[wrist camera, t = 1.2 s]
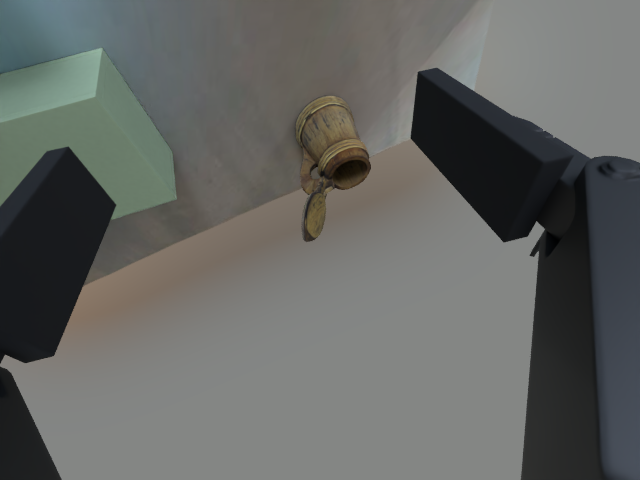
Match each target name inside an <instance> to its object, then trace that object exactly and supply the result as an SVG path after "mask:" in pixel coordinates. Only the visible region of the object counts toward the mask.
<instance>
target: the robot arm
mask: <svg viewBox="0 0 640 480" xmlns="http://www.w3.org/2000/svg"><path fill="white" fill-rule="evenodd" d="M411 139H412V140H413V141H414V142H415V144H416V145H417V146H418V147H419V148H420V149H421V150H422V152H423V153H424V154H425V155H426V156H427V157H428V158H429V159H430V160H431V162H432V163H433V164H434V165H435V166H436V167H437V168H438V169H439V171H440V172H441V173H442V174H443V175H444V176H445V177H446V178H447V180H448V181H449V182H450V183H451V184H452V185H453V186H454V187H455V188H456V190H457V191H458V192H459V193H460V194H461V195H462V196H463V197H464V198H465V200H466V201H467V202H468V203H469V204H470V205H471V206H472V207H473V208H474V210H475V211H476V212H477V213H478V214H479V215H480V216H481V218H482V219H483V220H484V221H485V222H486V223H487V224H488V225H489V226H490V227H491V229H492V230H493V231H494V232H495V233H496V234H497V235H498V237H500V239H501V240H502V241H503V242H507V241H511V240H515V239H519V238H523V237H527V236H528V235H529V233H530V231H531V230H532V228H533V226H534V225H535V223H536V221H537V222H538V223H539V224H540V225H541V226H543V227H544V228H545V230H544V232H543V234H542V235H541V237H540V238H539V240H538V242H537V243H536V245H535V247H534V248H533V250H532V252H531V254H530V256H533V257H534V256H535V254H536V253H537V252H538V251H539V260H538V272H537V284H536V297H535V310H534V322H533V335H532V348H531V361H530V374H529V386H528V399H527V411H526V424H525V436H524V449H523V462H522V475H521V480H640V163H639V162H636V161H633V160H631V159H626V158H621V157H616V156H615V157H614V156H601V157H594V158H592V159H590V158H589V157H587V156H585V155H584V154H582V153H580V152H579V151H577V150H576V149H574V148H572V147H571V146H569V145H568V144H566V143H564V142H562V141H561V140H559V139H558V138H556V137H555V138H553V135H551V134H550V133H548V132H546V131H543V129H542V128H540V127H538V126H537V125H535V124H533V123H532V122H530V121H527V120H524V119H521V118H518V117H515V116H512V115H510V114H509V113H507V112H506V111H504V110H502V109H501V108H499V107H498V106H496V105H494V104H493V103H491V102H490V101H488V100H487V99H485V98H484V97H482V96H480V95H479V94H477V93H476V92H474V91H473V90H471V89H470V88H468V87H466V86H465V85H463V84H462V83H460V82H459V81H457V80H455V79H454V78H452V77H451V76H449V75H448V74H446V73H444V72H443V71H441V70H440V69H438V68H433V69H429V70H424V71H419V72H418V76H417V85H416V94H415V103H414V112H413V121H412V130H411ZM115 208H116V204H115V202H114V201H113V200H112V199H111V198H110V196H109V195H108V194H107V193H106V191H105V190H104V189H103V188H102V187H101V185H100V184H99V183H98V182H97V180H96V179H95V178H94V177H93V176H92V174H91V173H90V172H89V171H88V169H87V168H86V167H85V166H84V165H83V163H82V162H81V161H80V160H79V158H78V157H77V156H76V155H75V154H74V152H73V151H72V150H71V149H70V147H69V146H68V147H64V148H59V149H54V150H50V151H46V153H45V154H44V155H43V156H42V157H41V159H40V160H39V161H38V162H37V163H36V165H35V166H34V167H33V168H32V169H31V170H30V172H29V173H28V174H27V175H26V176H25V178H24V179H23V180H22V181H21V182H20V184H19V185H18V186H17V187H16V188H15V190H14V191H13V192H12V193H11V194H10V195H9V197H8V198H7V199H6V200H5V201H4V203H3V204H2V205H1V206H0V363H1V361H2V359H3V357H4V355H8V356H10V357H12V358H14V359H17V360H19V361H21V362H24V363H28V362H32V361H35V360H40V359H44V358H48V357H52V356H54V355H55V352H56V350H57V347H58V345H59V342H60V340H61V337H62V335H63V333H64V330H65V328H66V326H67V323H68V321H69V318H70V316H71V314H72V311H73V309H74V306H75V304H76V302H77V299H78V296H79V294H80V292H81V290H82V287H83V285H84V282H85V280H86V277H87V275H88V273H89V270H90V268H91V265H92V263H93V261H94V258H95V256H96V253H97V251H98V249H99V246H100V244H101V241H102V239H103V236H104V234H105V232H106V229H107V227H108V224H109V222H110V220H111V217H112V215H113V212H114V210H115ZM0 480H61V477H60V475H59V473H58V471H57V469H56V467H55V465H54V463H53V461H52V458H51V456H50V454H49V452H48V450H47V448H46V446H45V444H44V442H43V439H42V437H41V435H40V433H39V431H38V429H37V427H36V425H35V423H34V420H33V418H32V416H31V414H30V412H29V410H28V408H27V406H26V404H25V401H24V399H23V397H22V395H21V393H20V391H19V389H18V387H17V385H16V382H15V380H14V378H13V376H12V374H11V373H10V372H9V371H8V370H7V369H5V368H2V367H0Z"/></svg>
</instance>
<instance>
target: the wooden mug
mask: <svg viewBox="0 0 640 480" xmlns="http://www.w3.org/2000/svg"><path fill="white" fill-rule="evenodd" d="M295 133H296V140H297V142H298V143H299V145H300V146H301V147H302V148H303V151H304V158H303V163H302V167H301V172H300V182H301V186H302V188H303V190H304V191H305V192H306V193H307V194H308V195H309V197H308V198H307V201H306V203H305V206H304V210H303V216H302V235H303V240H304V241H306V242H308V241H312V240H315V239H316V238H317V237H318V236H319V235H320V233H321V231H322V229H323V225H324V221H325V214H326V206H325V205H326V204H325V198H326V195H327V193H328V192H330V191H331V190H333V189H334V188H337V189H341V190H345V189H349V188H352V187H354V186H356V185H358V184H360V183H361V182H363V181H364V180H365V178H366V177H367V175H368V174H369V171H370V169H371V165H370V162H369V154H368V151H367V148H366V146H365V145H364V143H363V142H361V140H360V138H359V135H358V133H357V130H356V127H355V125H354V120H353V116H352V113H351V110H350V108H349V106H348V105H347V103H346V102H345V101H344V100H342V99H341V98H339V97H335V96H324V97H320V98H318V99H316V100H314V101H313V102H311V103H310V104H309V105H308V106H306V107H305V109H304V110H303V111H302V112H301V113H300V115H299V117H298V119H297V121H296V127H295ZM316 167H318V174H319V176H320V177H321V178H319V179H312V178H311V176H310V175H311V171H312V170H313V169H314V168H316Z"/></svg>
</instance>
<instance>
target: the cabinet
mask: <svg viewBox="0 0 640 480" xmlns="http://www.w3.org/2000/svg"><path fill="white" fill-rule="evenodd" d="M68 146H69V147H70V149H71V150H72V151H73V152H74V154H75V155H76V156H77V157H78V158H79V160H80V161H81V162H82V163H83V165H84V166H85V167H86V168H87V169H88V171H89V172H90V173H91V174H92V176H93V177H94V178H95V179H96V180H97V182H98V183H99V184H100V185H101V187H102V188H103V189H104V190H105V191H106V193H107V194H108V195H109V196H110V198H111V199H112V200H113V201H114V202H115V204H116V208H115V210H114V212H113V215H112V217H111V220H112V219H115V218H119V217H122V216H125V215H128V214H131V213H135V212H138V211H141V210H144V209H147V208H151V207H154V206H157V205H160V204H164V203H167V202H170V201H173V200H176V199H177V196H176V186H175V175H174V164H173V152H172V151H171V149H170V148H169V146H168V145H167V143H166V142H165V140H164V139H163V137H162V136H161V134H160V133H159V131H158V130H157V128H156V127H155V125H154V124H153V122H152V121H151V119H150V118H149V117H148V115H147V114H146V112H145V111H144V109H143V108H142V106H141V105H140V103H139V102H138V100H137V99H136V97H135V96H134V94H133V93H132V91H131V90H130V88H129V87H128V85H127V84H126V82H125V81H124V79H123V78H122V76H121V75H120V73H119V72H118V70H117V69H116V67H115V66H114V64H113V63H112V61H111V60H110V58H109V57H108V56H107V54H106V53H105V51H104V50H103V48H99V49H95V50H91V51H87V52H83V53H79V54H76V55H72V56H68V57H64V58H60V59H56V60H52V61H49V62H45V63H41V64H37V65H33V66H29V67H25V68H22V69H18V70H14V71H10V72H6V73H2V74H0V206H1V205H2V204H3V203H4V201H5V200H6V199H7V198H8V197H9V195H10V194H11V193H12V192H13V191H14V190H15V188H16V187H17V186H18V185H19V184H20V182H21V181H22V180H23V179H24V178H25V176H26V175H27V174H28V173H29V172H30V170H31V169H32V168H33V167H34V166H35V165H36V163H37V162H38V161H39V160H40V159H41V157H42V156H43V155H44V154H45V153H46V151H50V150H54V149H59V148H64V147H68Z"/></svg>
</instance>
